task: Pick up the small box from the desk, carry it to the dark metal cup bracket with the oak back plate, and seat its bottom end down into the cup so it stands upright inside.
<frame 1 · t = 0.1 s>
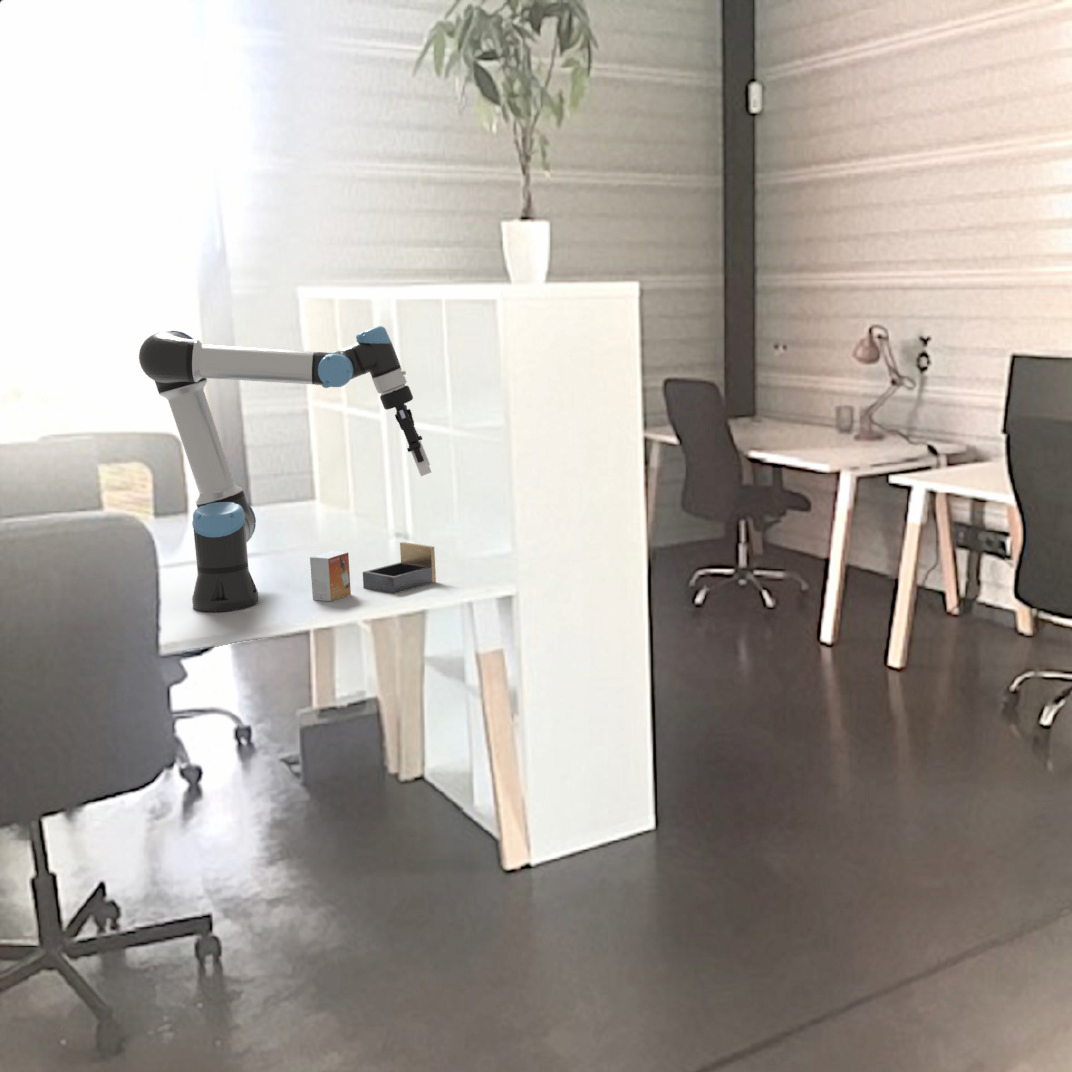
hand: (425, 470, 292), 28 cm above the table, tool tilted 20°, fingers open, 13 cm apart
small box: (332, 598, 283), on the table
cup bracket: (398, 585, 293), on the table
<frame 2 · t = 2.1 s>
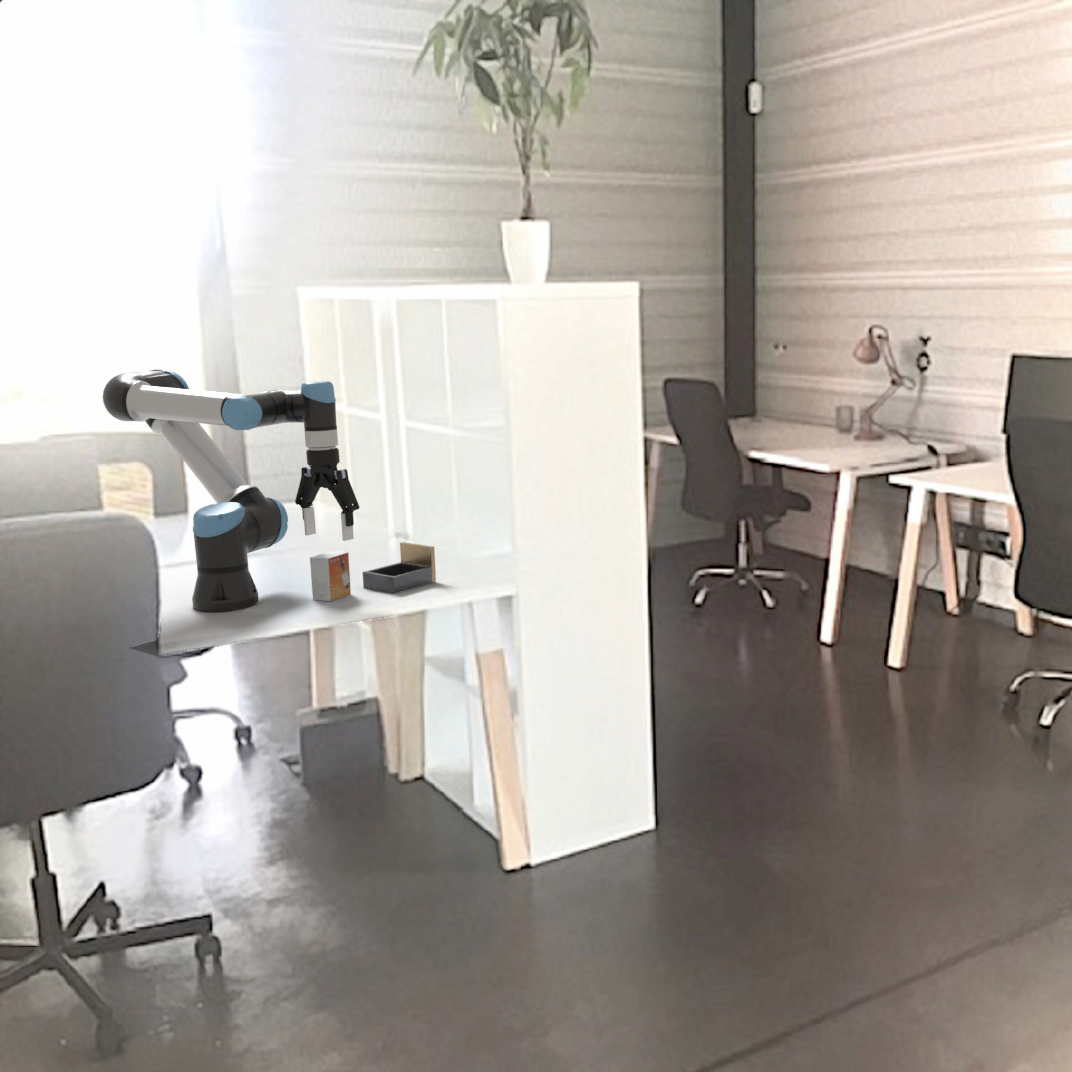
hand: (329, 537, 280), 15 cm above the table, tool pointing down, fingers open, 13 cm apart
nothing on the table moved.
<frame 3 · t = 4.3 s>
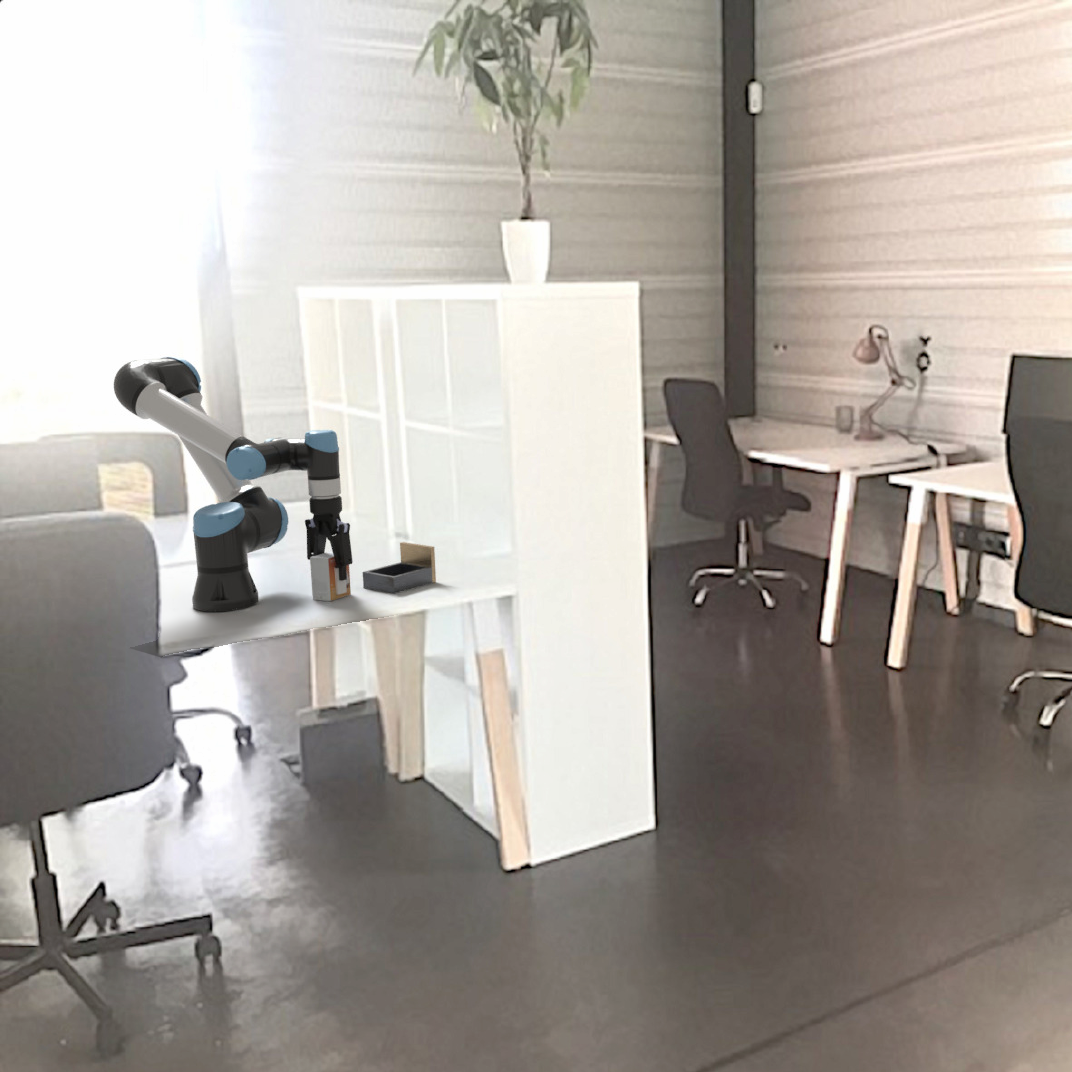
hand: (331, 591, 283), 1 cm above the table, tool pointing down, fingers closed on small box, 6 cm apart
small box: (332, 597, 283), on the table, touching gripper
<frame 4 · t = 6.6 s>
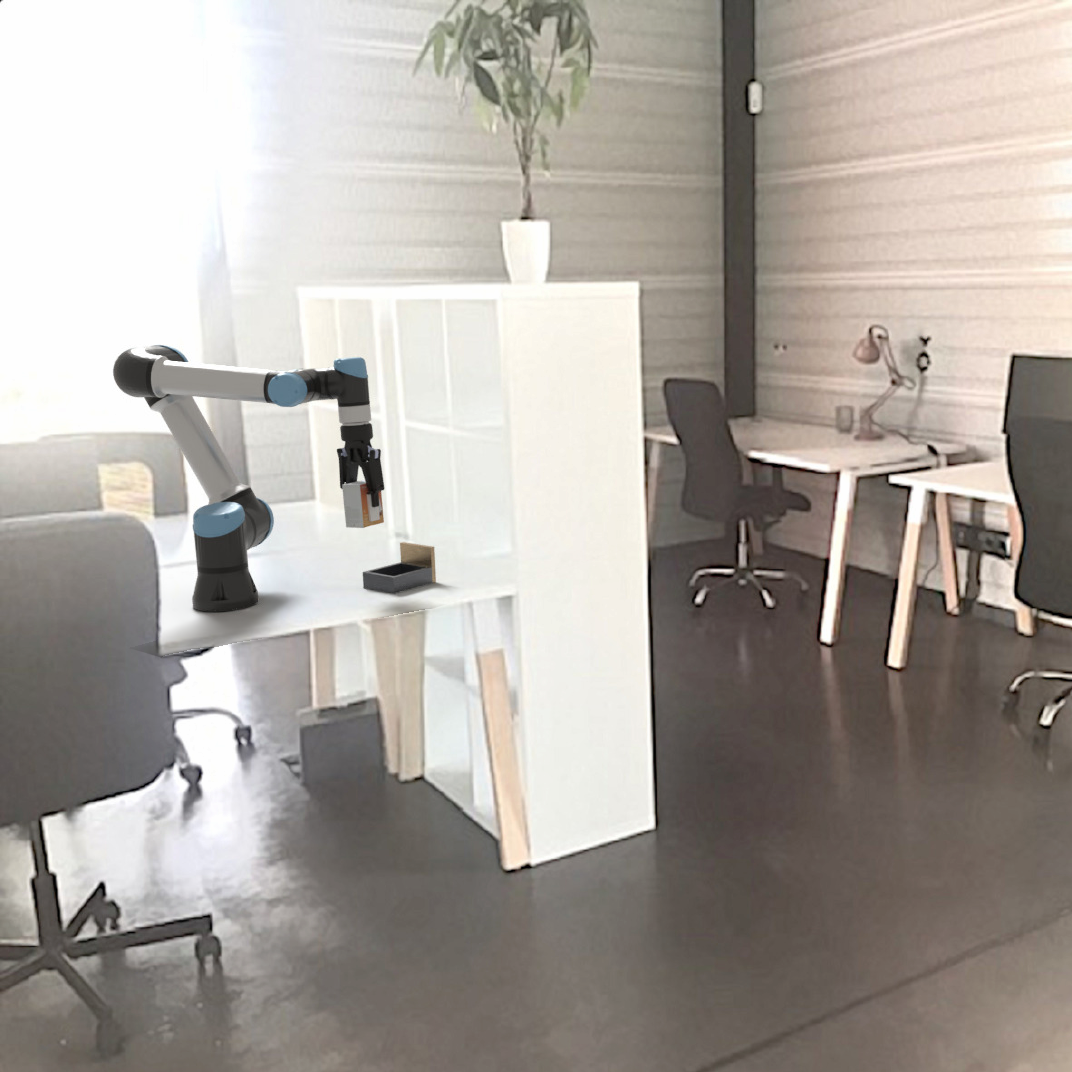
hand: (365, 519, 284), 18 cm above the table, tool pointing down, fingers closed on small box, 6 cm apart
small box: (365, 526, 284), point 16 cm above the table, touching gripper
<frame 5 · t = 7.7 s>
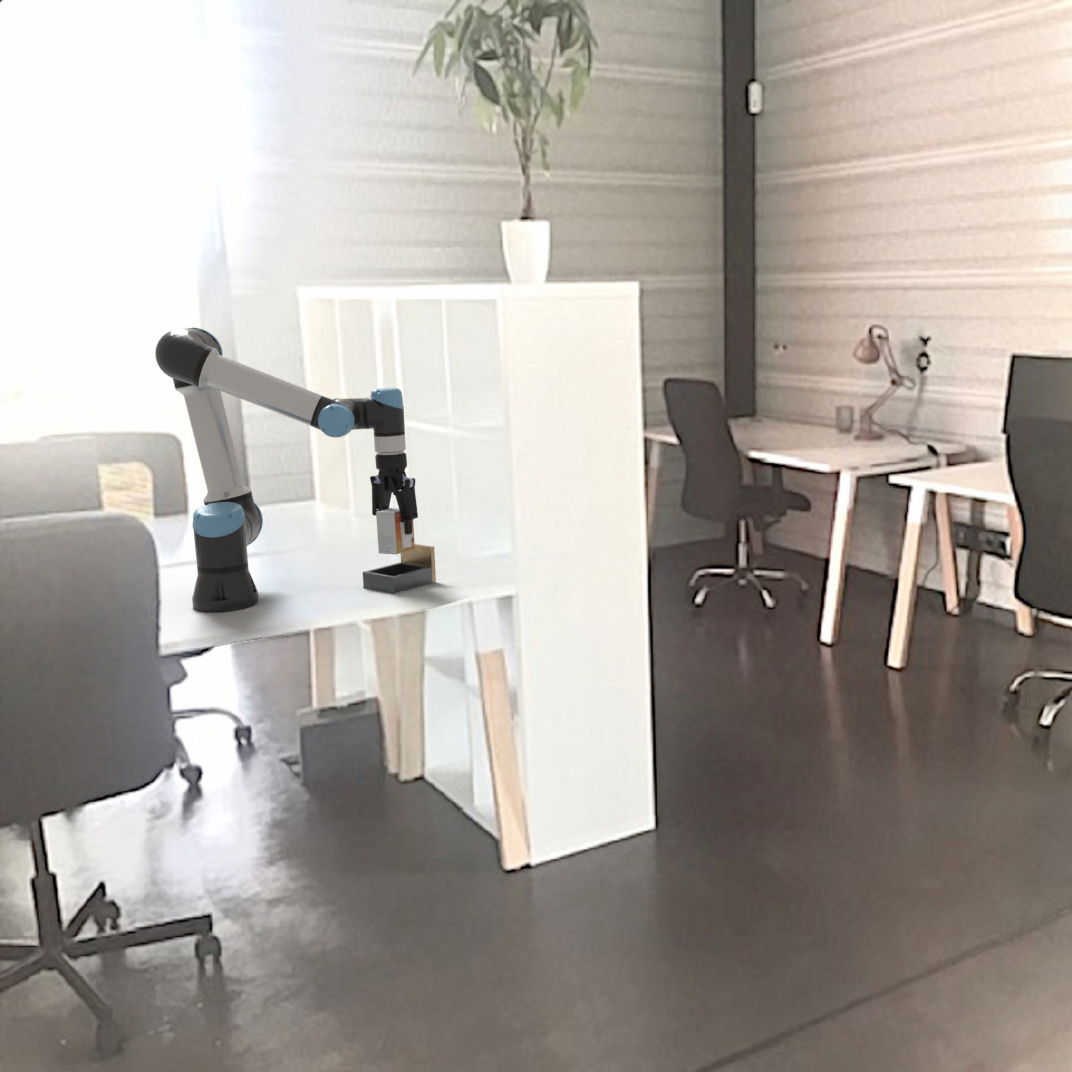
hand: (396, 545, 291), 10 cm above the table, tool pointing down, fingers closed on small box, 6 cm apart
small box: (397, 552, 291), point 8 cm above the table, touching gripper
when the fingers open (5 cm above the table, at t = 8.9 s): small box drops 3 cm, resting on cup bracket.
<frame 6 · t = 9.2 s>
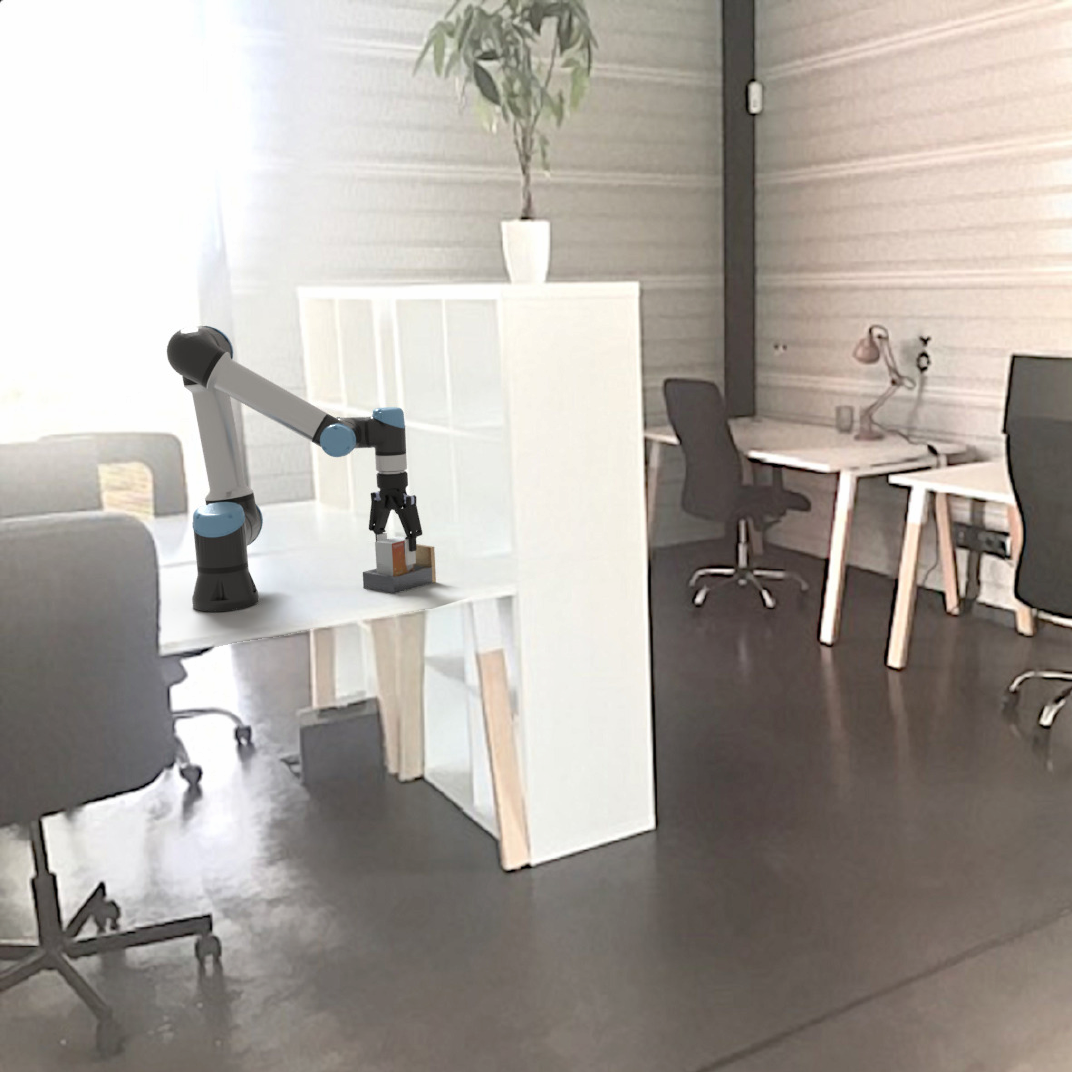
hand: (396, 561, 291), 6 cm above the table, tool pointing down, fingers open, 9 cm apart
small box: (396, 582, 293), point 1 cm above the table, touching cup bracket
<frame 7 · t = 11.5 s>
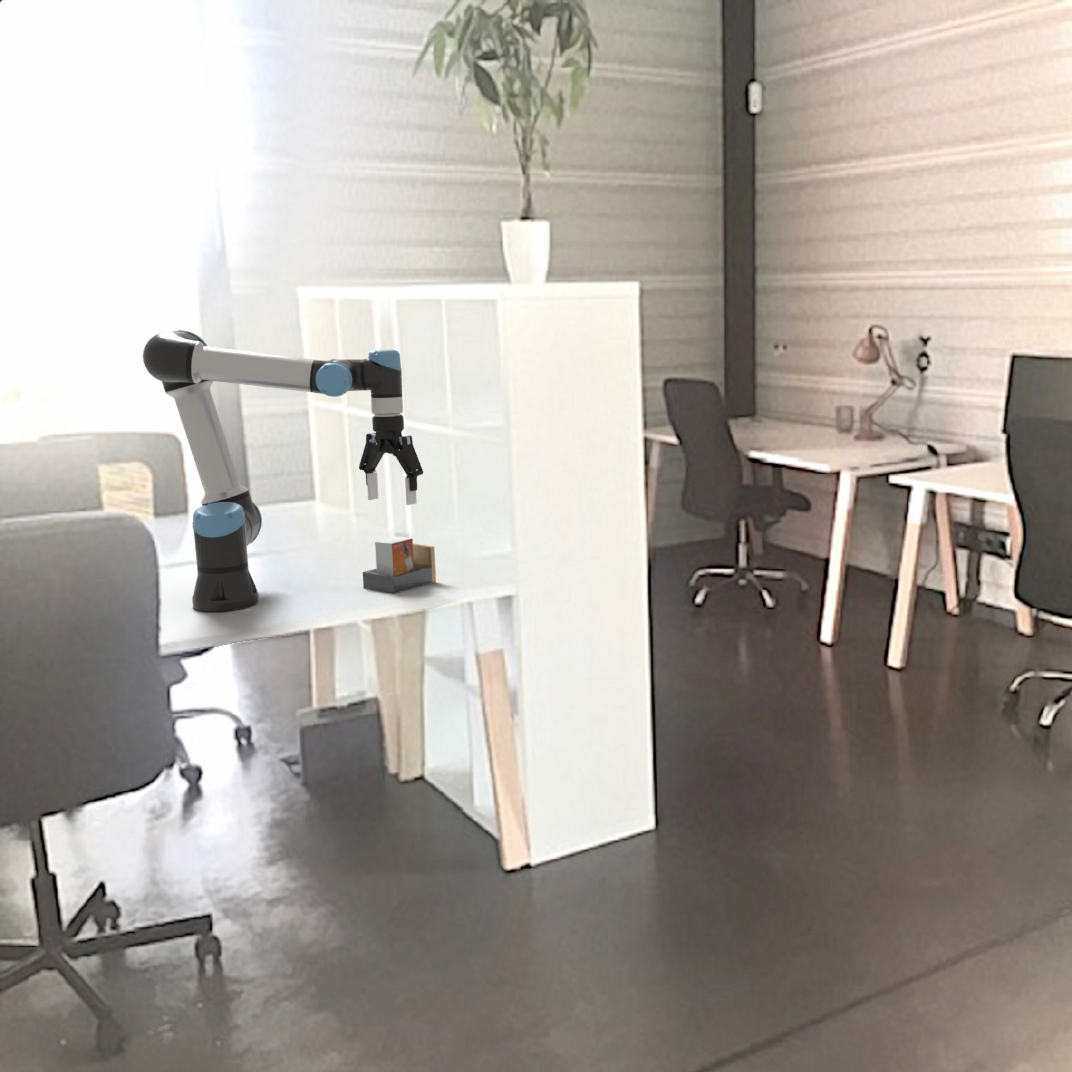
hand: (392, 501, 289), 21 cm above the table, tool pointing down, fingers open, 13 cm apart
nothing on the table moved.
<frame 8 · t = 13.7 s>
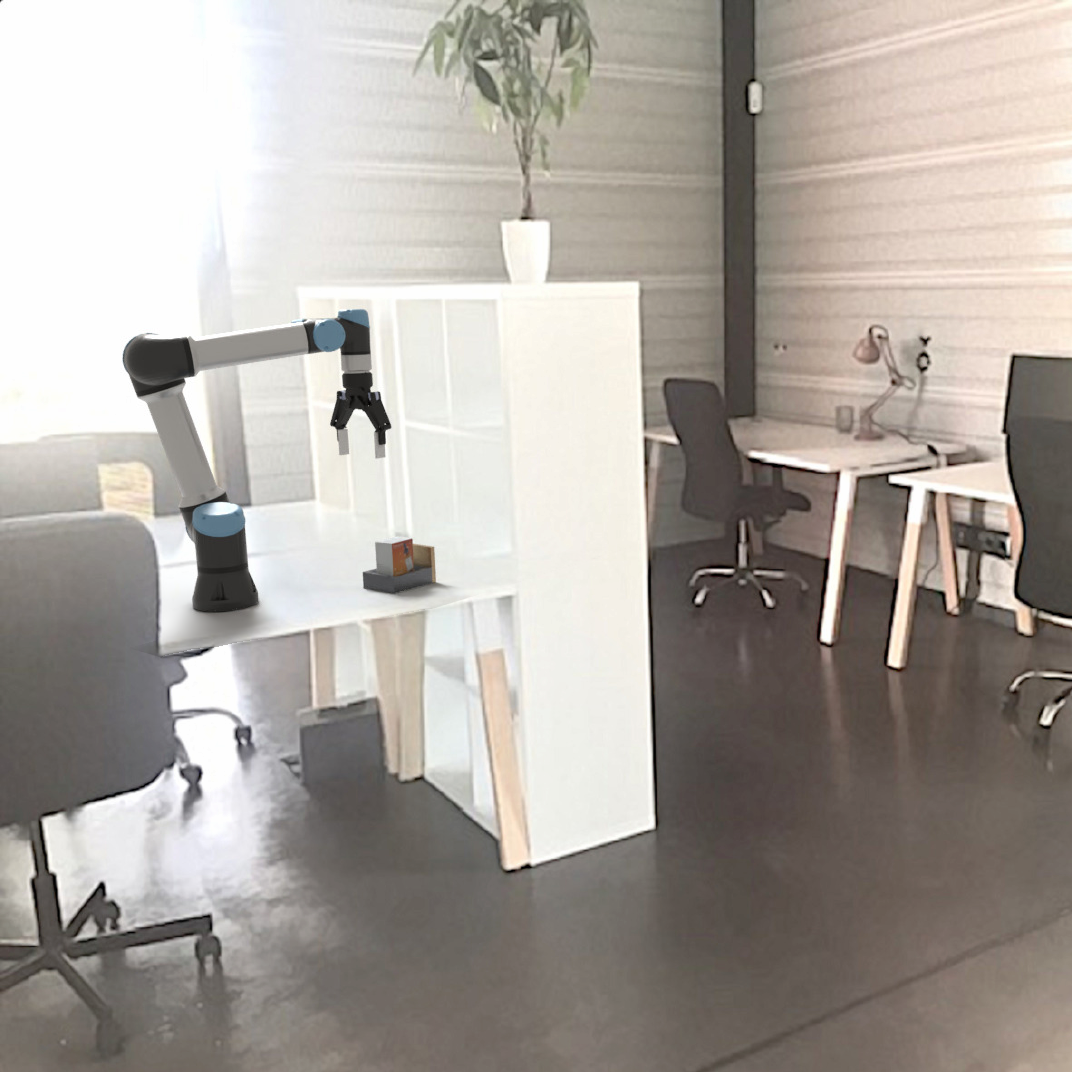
hand: (362, 456, 300), 31 cm above the table, tool pointing down, fingers open, 13 cm apart
nothing on the table moved.
at the end: small box 0.4 cm off-centre on the cup bracket, point 0.8 cm above the cup bracket's base; small box tilted 0°; the gripper is holding nothing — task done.
